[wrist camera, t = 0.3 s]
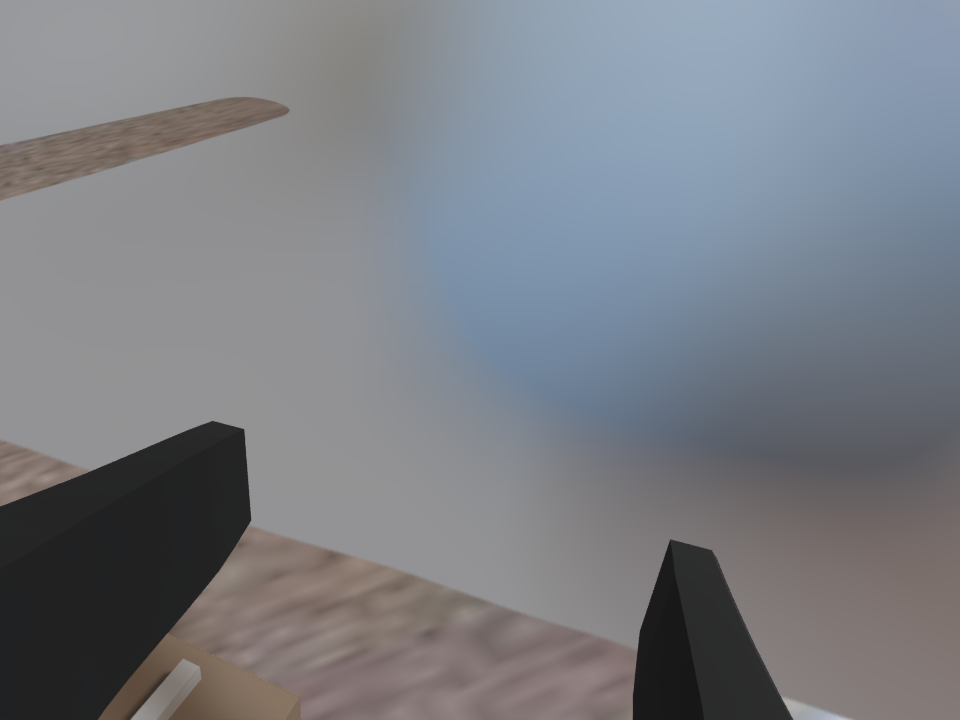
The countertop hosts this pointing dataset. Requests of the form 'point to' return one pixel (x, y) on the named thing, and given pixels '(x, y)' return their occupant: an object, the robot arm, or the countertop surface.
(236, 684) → the tan slider track board
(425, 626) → the countertop surface
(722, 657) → the robot arm
